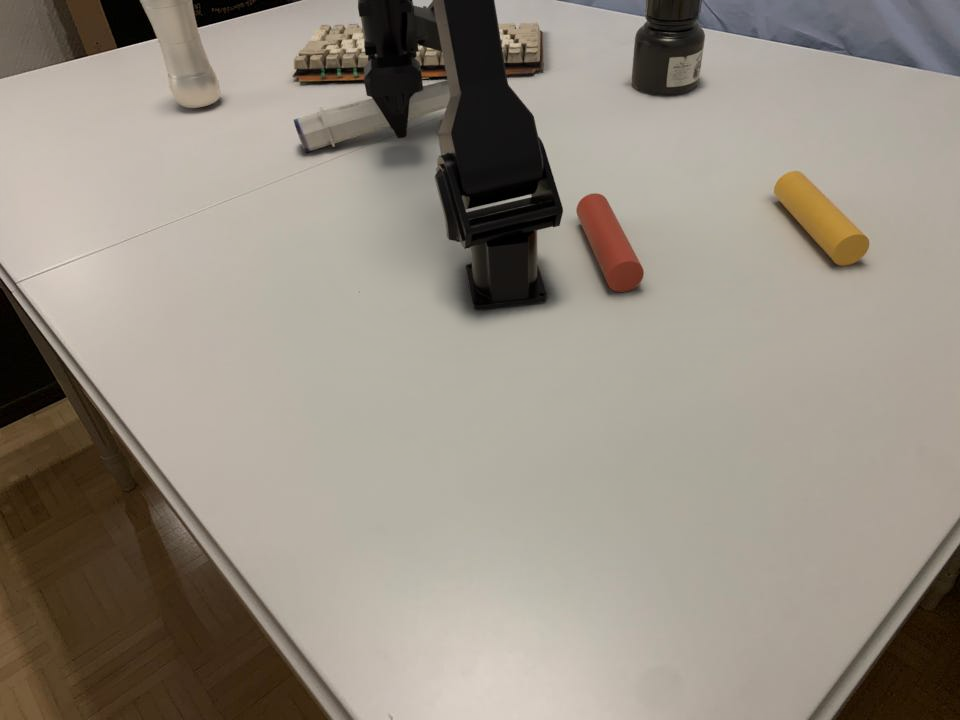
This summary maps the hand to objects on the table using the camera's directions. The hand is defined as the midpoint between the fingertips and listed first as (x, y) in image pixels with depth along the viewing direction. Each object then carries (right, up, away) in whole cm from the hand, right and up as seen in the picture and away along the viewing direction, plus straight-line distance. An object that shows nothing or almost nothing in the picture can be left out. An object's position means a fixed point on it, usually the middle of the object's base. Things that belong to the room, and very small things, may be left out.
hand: (401, 125), depth 88 cm
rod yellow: (+41, -17, -21) cm, 50 cm away
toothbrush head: (0, -1, +1) cm, 1 cm away
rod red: (+22, -20, -22) cm, 37 cm away
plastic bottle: (-30, +7, +12) cm, 33 cm away
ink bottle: (+35, +8, +8) cm, 37 cm away
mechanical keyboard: (+1, +17, +21) cm, 27 cm away
